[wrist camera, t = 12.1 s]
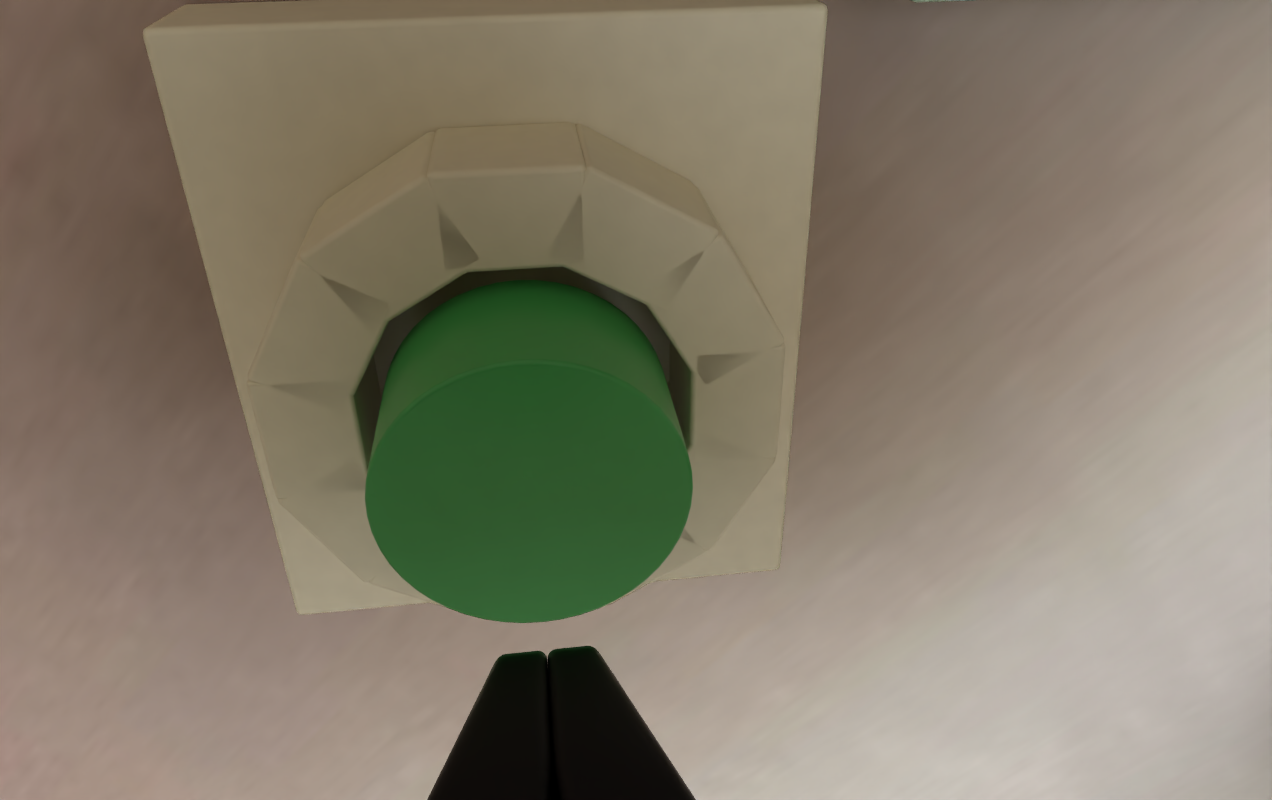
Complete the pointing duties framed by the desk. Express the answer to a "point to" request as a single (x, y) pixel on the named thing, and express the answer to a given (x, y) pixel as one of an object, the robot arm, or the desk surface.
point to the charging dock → (937, 0)
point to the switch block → (497, 225)
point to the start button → (527, 455)
